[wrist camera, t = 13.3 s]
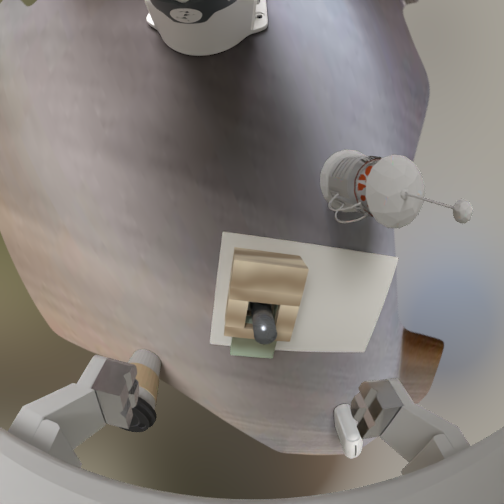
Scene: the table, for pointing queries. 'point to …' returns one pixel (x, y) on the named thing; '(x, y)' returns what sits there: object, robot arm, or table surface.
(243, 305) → the clevis
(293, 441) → the table surface
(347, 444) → the white rounded slab
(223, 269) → the mat
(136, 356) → the coffee cup
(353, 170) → the french press
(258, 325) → the pin
